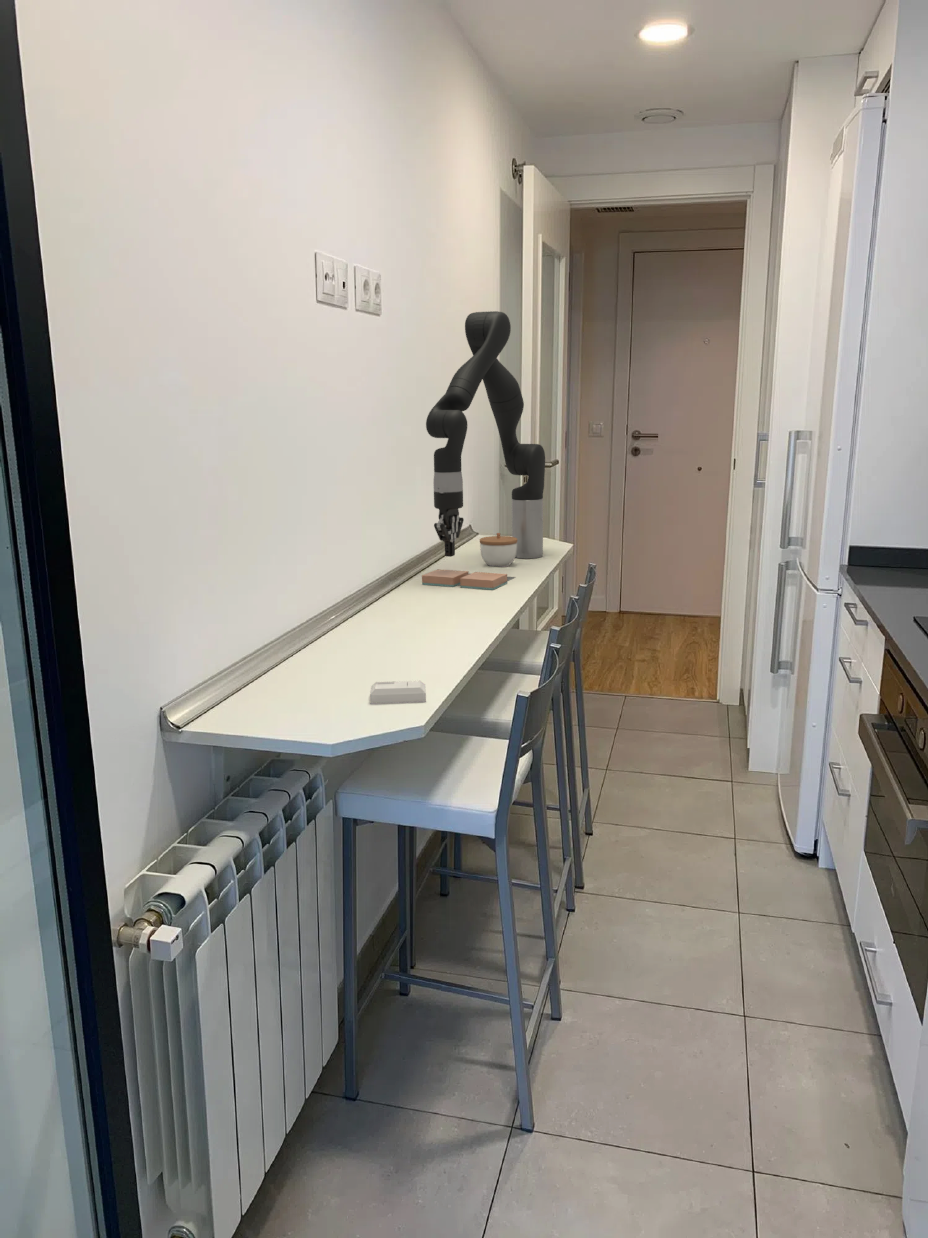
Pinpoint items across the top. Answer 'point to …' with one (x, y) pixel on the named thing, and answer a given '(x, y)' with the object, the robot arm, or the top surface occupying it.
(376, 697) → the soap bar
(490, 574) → the tile
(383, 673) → the top surface
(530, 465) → the robot arm
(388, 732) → the top surface
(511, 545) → the lidded jar
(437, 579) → the tile
